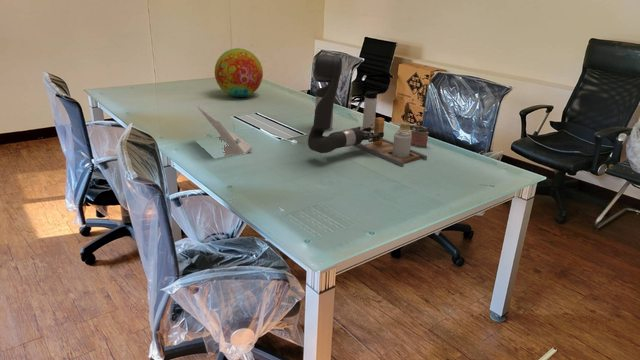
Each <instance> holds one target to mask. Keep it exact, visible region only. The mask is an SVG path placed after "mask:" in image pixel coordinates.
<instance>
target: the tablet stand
mask: <svg viewBox="0 0 640 360" xmlns="http://www.w3.org/2000/svg"><path fill="white" fill-rule="evenodd" d="M197 109H198V110H199V111H200V112H201V114H203V116H204V118H205V119H206V120H207V121H208V122H209V123H210V124H211V125H212V127H213V128H214V129H215V131H217V133H218V134H219V135H220V136H218V137H216V138H219V140H221V142H222V140H223V141H224V142H226V143H227V144H228V145H229V146H228V145H227V144H226V145H227V146H226V147H225V145H224V151H225V152H223V153H225V155H224V156H230V155H236V156H238V155H237V154H242V155H244V154H243V153H247V154H248V153H249V152H251V151H252V150H253V149H254V148H253V147H252V145H250V144H249V143H247V142H246V141H245V140H243V139H242V138H241V137H239V136H238V135H237V134H235V133H234V132H233V131H229V132H228V130H227V129H226V128H225V127H224V126H223V125H222V123H221V122H220V121H219V119H217V118H216V117H214V116H213V115H212V114H210V113H209V112H208V111H206V110H205V109H204V108H202V107H201V106H200V105H198V106H197ZM238 141H240V142H238ZM222 149H223V148H222ZM230 157H231V156H230Z"/></svg>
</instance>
